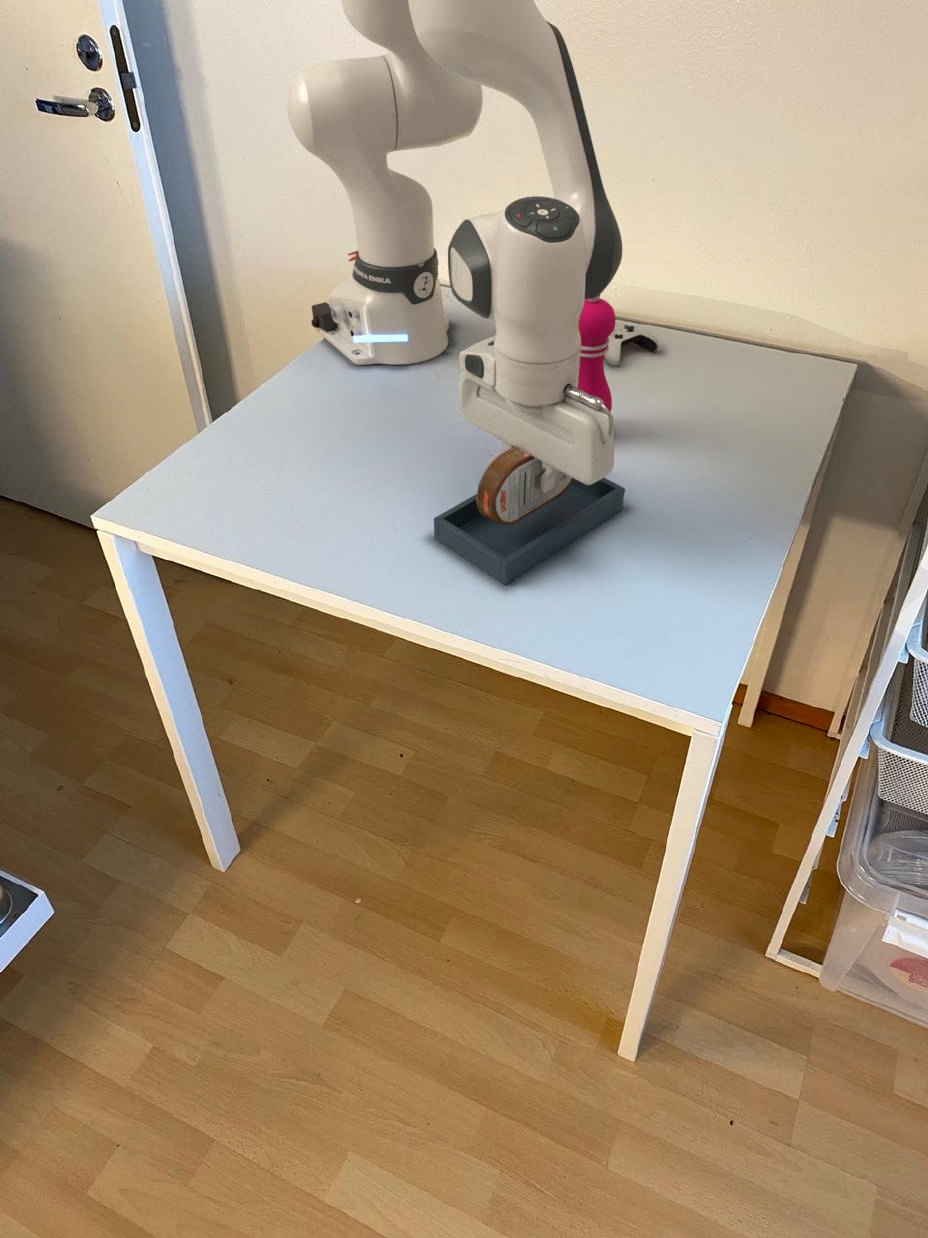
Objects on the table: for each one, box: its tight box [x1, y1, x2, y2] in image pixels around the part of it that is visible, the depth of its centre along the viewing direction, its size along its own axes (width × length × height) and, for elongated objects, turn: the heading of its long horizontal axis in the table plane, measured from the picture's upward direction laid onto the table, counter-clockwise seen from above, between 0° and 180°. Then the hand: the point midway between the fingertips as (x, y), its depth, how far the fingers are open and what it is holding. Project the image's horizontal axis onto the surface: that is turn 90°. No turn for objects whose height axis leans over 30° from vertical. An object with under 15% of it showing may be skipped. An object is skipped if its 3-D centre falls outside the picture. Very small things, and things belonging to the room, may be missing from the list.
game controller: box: [604, 324, 659, 367], centre depth 139 cm, size 10×5×6 cm
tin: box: [476, 446, 574, 525], centre depth 103 cm, size 15×3×8 cm, turn 133°
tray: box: [433, 477, 626, 586], centre depth 107 cm, size 12×20×3 cm, turn 133°
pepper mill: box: [577, 294, 617, 413], centre depth 116 cm, size 7×7×20 cm
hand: (531, 481), depth 104 cm, fingers closed on tin, 2 cm apart
